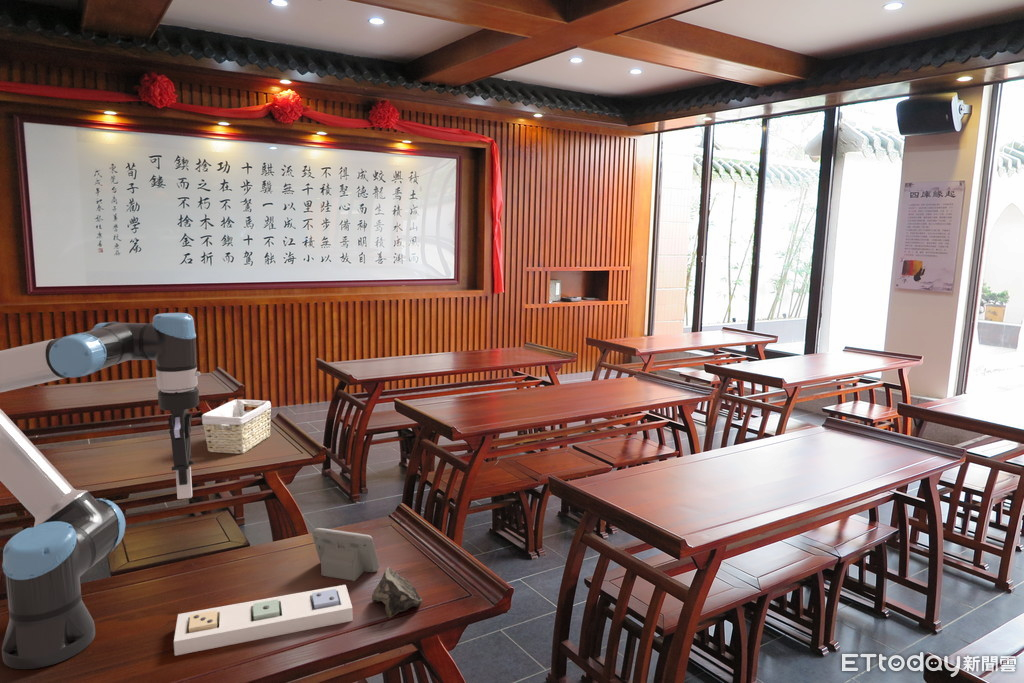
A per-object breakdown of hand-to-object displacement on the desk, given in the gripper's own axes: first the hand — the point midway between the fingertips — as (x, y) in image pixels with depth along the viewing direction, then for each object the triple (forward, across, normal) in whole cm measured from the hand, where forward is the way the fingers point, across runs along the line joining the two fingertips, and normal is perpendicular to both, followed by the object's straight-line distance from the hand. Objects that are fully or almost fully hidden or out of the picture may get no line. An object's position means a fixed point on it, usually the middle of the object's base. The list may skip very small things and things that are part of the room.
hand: (184, 496), depth 142 cm
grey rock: (+26, -12, -43) cm, 52 cm away
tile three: (+26, -12, -3) cm, 28 cm away
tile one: (+25, -11, -15) cm, 32 cm away
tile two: (+25, -11, -27) cm, 39 cm away
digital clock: (+26, +7, -34) cm, 43 cm away
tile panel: (+26, -11, -15) cm, 32 cm away
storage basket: (+26, +117, -5) cm, 120 cm away
